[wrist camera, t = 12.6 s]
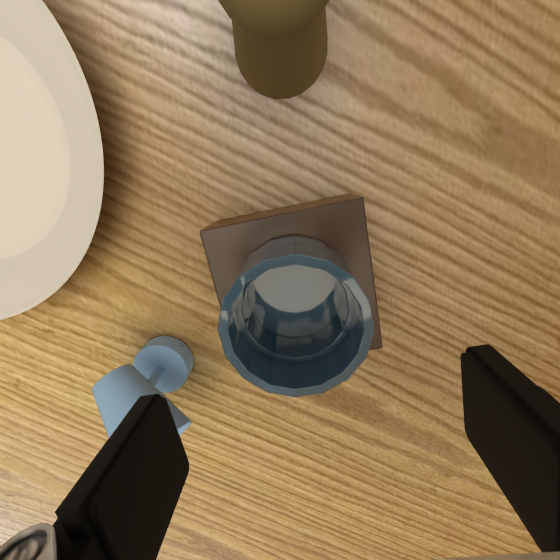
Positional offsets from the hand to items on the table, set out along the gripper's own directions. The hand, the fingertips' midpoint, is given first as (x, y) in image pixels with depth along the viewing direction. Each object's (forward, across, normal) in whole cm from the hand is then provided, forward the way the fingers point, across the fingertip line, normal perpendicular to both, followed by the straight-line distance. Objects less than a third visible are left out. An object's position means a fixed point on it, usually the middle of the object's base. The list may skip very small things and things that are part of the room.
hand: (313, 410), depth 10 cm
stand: (+16, +1, 0) cm, 16 cm away
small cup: (+11, +1, 0) cm, 11 cm away
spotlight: (+16, +13, +6) cm, 21 cm away
